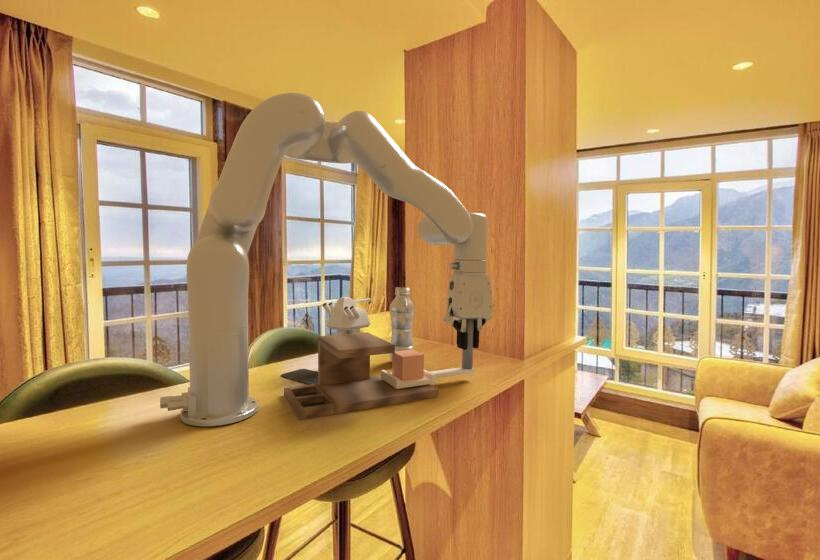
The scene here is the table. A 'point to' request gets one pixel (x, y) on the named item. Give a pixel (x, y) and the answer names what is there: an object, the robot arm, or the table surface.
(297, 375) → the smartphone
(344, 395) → the desk organizer
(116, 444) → the table surface
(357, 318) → the white mech figurine
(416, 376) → the block
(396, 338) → the plastic bottle
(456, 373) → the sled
